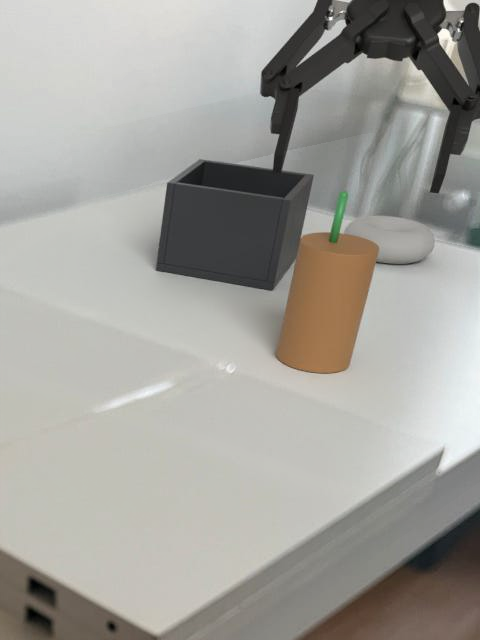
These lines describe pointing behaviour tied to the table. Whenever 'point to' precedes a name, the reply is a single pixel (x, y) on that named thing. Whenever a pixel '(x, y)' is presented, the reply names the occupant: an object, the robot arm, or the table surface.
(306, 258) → the paper cup
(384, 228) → the donut
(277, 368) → the table surface
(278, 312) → the table surface
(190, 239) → the bin
